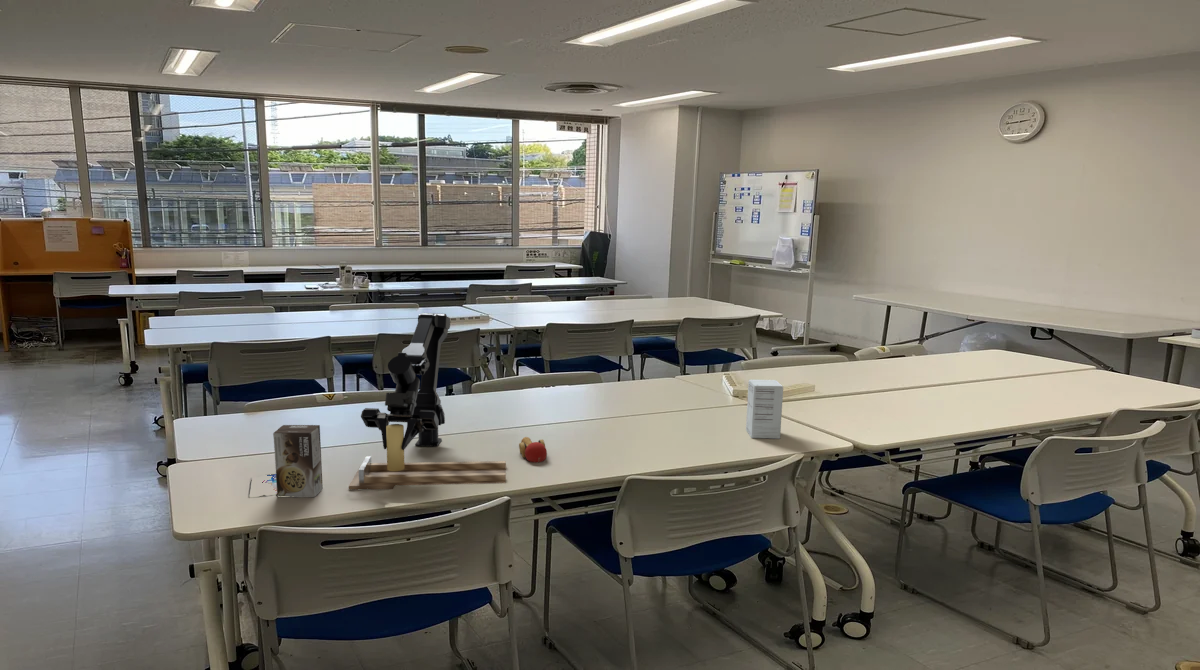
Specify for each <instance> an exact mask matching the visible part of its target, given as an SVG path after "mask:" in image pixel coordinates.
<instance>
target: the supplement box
mask: <svg viewBox="0 0 1200 670" xmlns="http://www.w3.org/2000/svg"><path fill="white" fill-rule="evenodd" d="M747 386H748V387H747V407H746V424H745V431H746V433H748V435H749V436H750V438H751V439H774V440H775V439H778V440H780V439H781V431H782V417H783V416H782V415H783V414H782V413H783V410H782V409H783V399H784V397H783V396H784V386H783V385H782V384H781V383H780V382H779V381H778V380H777V379H748V385H747Z"/></svg>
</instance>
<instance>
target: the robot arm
mask: <svg viewBox="0 0 1200 670" xmlns="http://www.w3.org/2000/svg"><path fill="white" fill-rule="evenodd" d="M450 329H451V318H450V317H449V316H448V315H447V313H441V312H439V313H438V312H437V313H435V312H421V313H419V314H418V316H417V324H416V327H415V330H414V332H413V335H412V338H411V341H410V344H409V345H408V346H407V347H404V348H403V349H402V351H401V352H398V353H397V355H396V356H395V357H392V358H391V359H390V360H389V361H388V363H387V369H388V372H389V374H390V376H391V378H392V381H393V383H395V384H396V386H395V390H394V392H386V393H385V400H384V401H385V403H384V406H385V407H386V406H387V408H386V410H387V412H389V413H387V412H381V410H380V409H379V408H375V407H374V408H373V407H372V408H371V407H365V408H364V409H362V411H361V414H360V418H361V420H362V422H363V424H364V425H365V427H366V428H373V429H375V428H378V431H381V438H382V446H383V447H382V448H383V449H384V450H387V438H386V426H388V425H390V422H391V423H406V430H405V431H404V439H403V442H402V450H404V451H405V450H406V448H407V447H408V446H409V444H410V443H411V442H412V441H413V440H414V438H415V437H416V436H417V437H418V440H417V441H416V442H415V443H414V446H415V447H419V446H420V447H438V446H439V445H440V443H441V441H442V438H441V437H439V426H441V425H445V423H446V417H445V411H444V409H443V407H442V402H441V401H442V400H441V398H440V397H439V394H438V392H437V386H438V377H439V374H438V373H439V368H440V357H441V356H440V355H441V346H442V343H443V342H444V341H445V340H446V339H447V337H448V334H449V333H448V332H449V330H450ZM418 375H419V376H420V375H421V380H420V378H419V377H418Z"/></svg>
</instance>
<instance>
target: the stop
mask: <svg viewBox="0 0 1200 670" xmlns="http://www.w3.org/2000/svg"><path fill="white" fill-rule="evenodd" d="M371 463H372V455H366V456H365V458H364V459H363V461H362V463H361V465H360V466H359V467H360V468H358V469H359V483H364V476H365V475H369V473H370V471H371V466H370V465H371Z"/></svg>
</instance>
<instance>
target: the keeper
mask: <svg viewBox="0 0 1200 670" xmlns="http://www.w3.org/2000/svg"><path fill="white" fill-rule="evenodd" d="M404 430H405V429H404V425H403V424H402V423H393V424H389V425H388V426H386V438H387V448H386V463H387V470H389V471H401V470H403V469H404V468H405V467H404V463H405V449H404V450H402V442H403V439H404V436H405V431H404Z"/></svg>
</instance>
